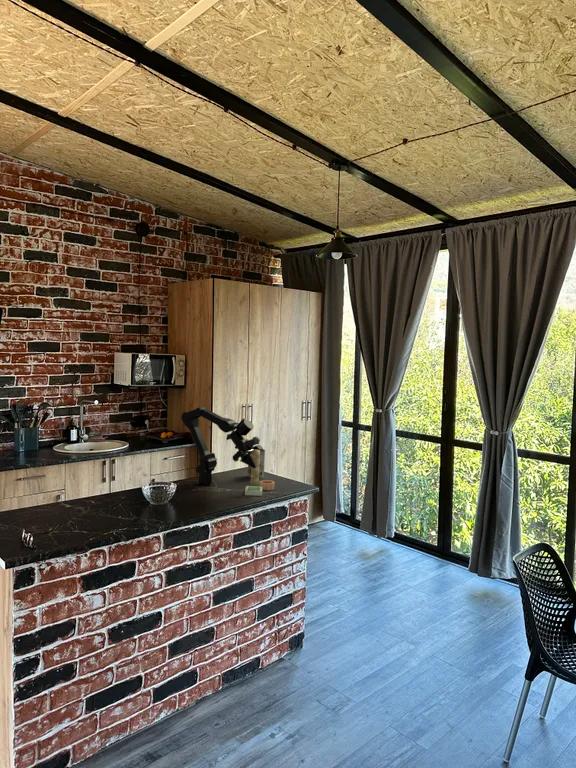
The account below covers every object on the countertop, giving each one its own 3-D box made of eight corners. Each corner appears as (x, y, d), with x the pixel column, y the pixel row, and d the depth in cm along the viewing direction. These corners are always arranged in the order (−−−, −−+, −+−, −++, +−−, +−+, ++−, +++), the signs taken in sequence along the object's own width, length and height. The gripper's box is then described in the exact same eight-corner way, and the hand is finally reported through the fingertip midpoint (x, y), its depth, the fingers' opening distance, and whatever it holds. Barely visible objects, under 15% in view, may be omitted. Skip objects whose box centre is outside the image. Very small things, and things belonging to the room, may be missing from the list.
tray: (244, 496, 256) (245, 490, 256) (246, 491, 264) (246, 486, 264) (261, 496, 256) (261, 491, 256) (262, 491, 264) (262, 486, 264)
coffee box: (247, 475, 294) (247, 446, 293) (258, 474, 297) (258, 446, 296) (253, 479, 286) (254, 450, 285) (264, 479, 289) (265, 449, 287)
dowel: (249, 483, 259) (250, 450, 257) (252, 481, 263) (253, 449, 261) (257, 484, 258) (258, 451, 256) (260, 482, 261) (261, 450, 260)
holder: (259, 490, 266) (259, 483, 265) (259, 486, 273) (260, 479, 273) (274, 491, 266) (274, 484, 265) (274, 487, 273) (274, 480, 273)
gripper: (238, 434, 252) (257, 460, 247) (260, 429, 268) (278, 453, 263) (224, 448, 256) (242, 474, 252) (246, 442, 273) (264, 467, 268)
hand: (257, 467), depth 259 cm, fingers closed on dowel, 4 cm apart
